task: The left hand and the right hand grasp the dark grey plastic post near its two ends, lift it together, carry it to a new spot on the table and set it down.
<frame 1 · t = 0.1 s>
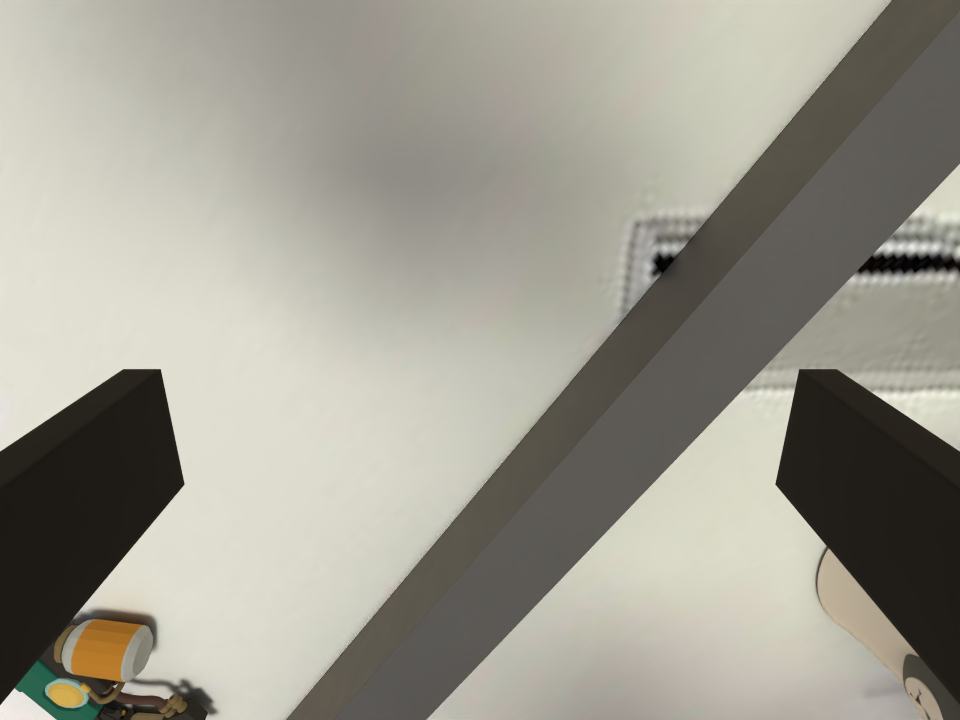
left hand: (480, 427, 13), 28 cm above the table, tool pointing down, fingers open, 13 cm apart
spray gun: (114, 674, 53), on the table
post: (571, 436, 44), on the table
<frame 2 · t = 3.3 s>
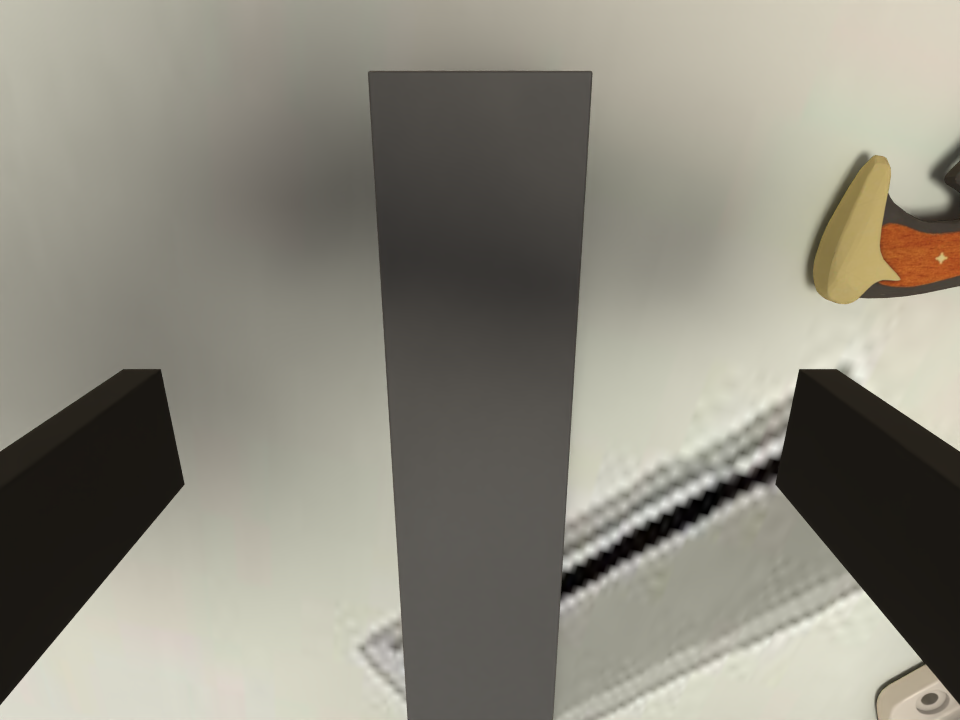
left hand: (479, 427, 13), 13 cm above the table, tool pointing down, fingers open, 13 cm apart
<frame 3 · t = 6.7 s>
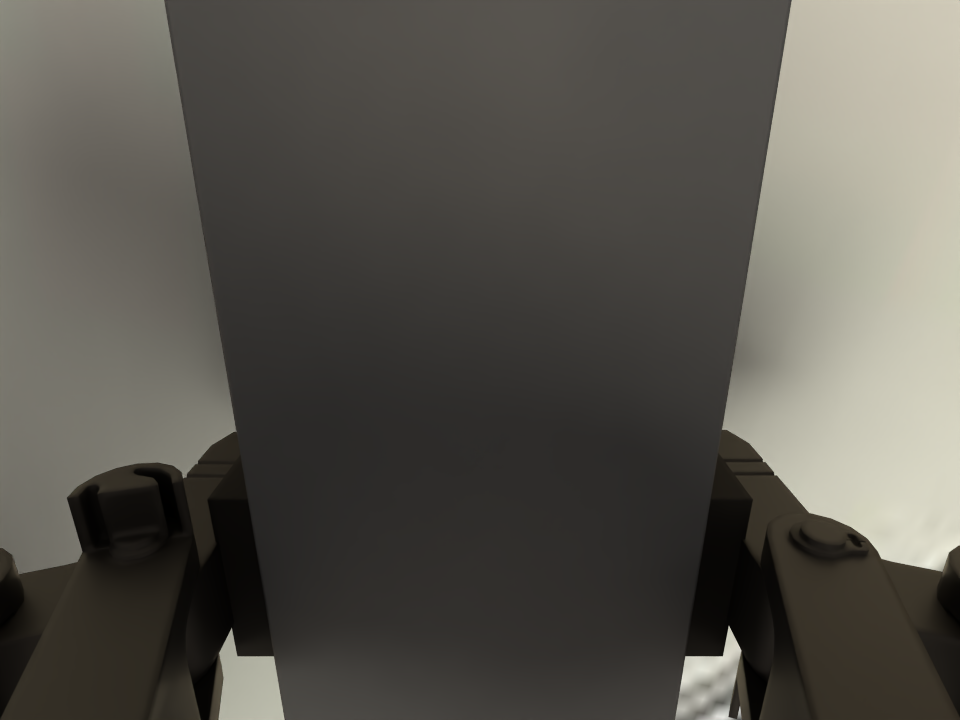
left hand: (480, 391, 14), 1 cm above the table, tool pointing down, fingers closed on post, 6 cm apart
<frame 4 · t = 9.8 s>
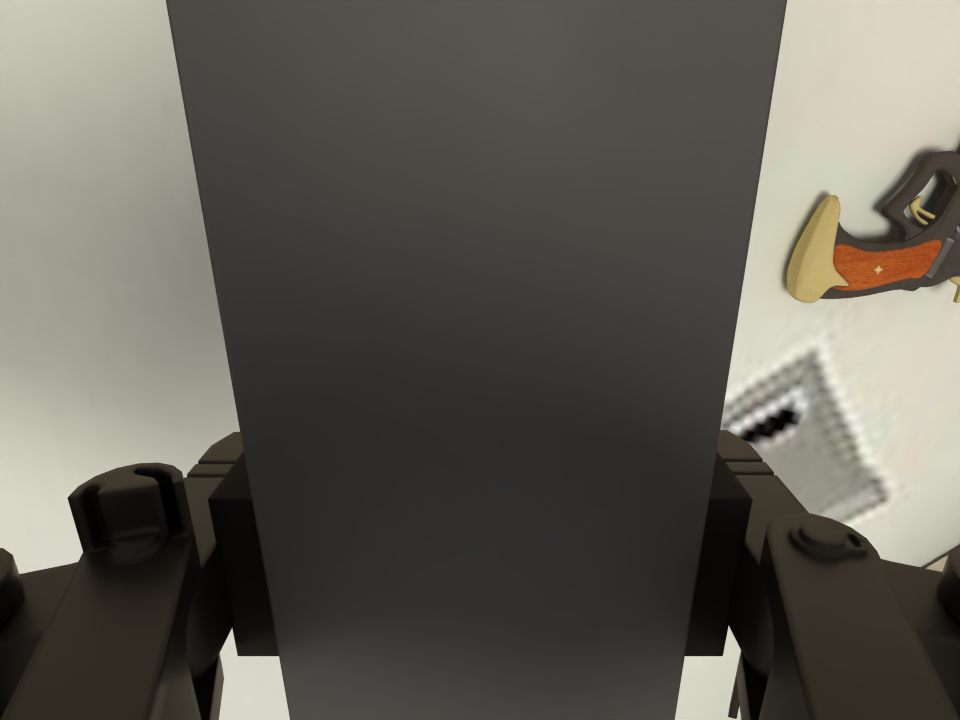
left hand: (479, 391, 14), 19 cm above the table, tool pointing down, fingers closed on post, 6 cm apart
toy gun: (951, 147, 30), on the table
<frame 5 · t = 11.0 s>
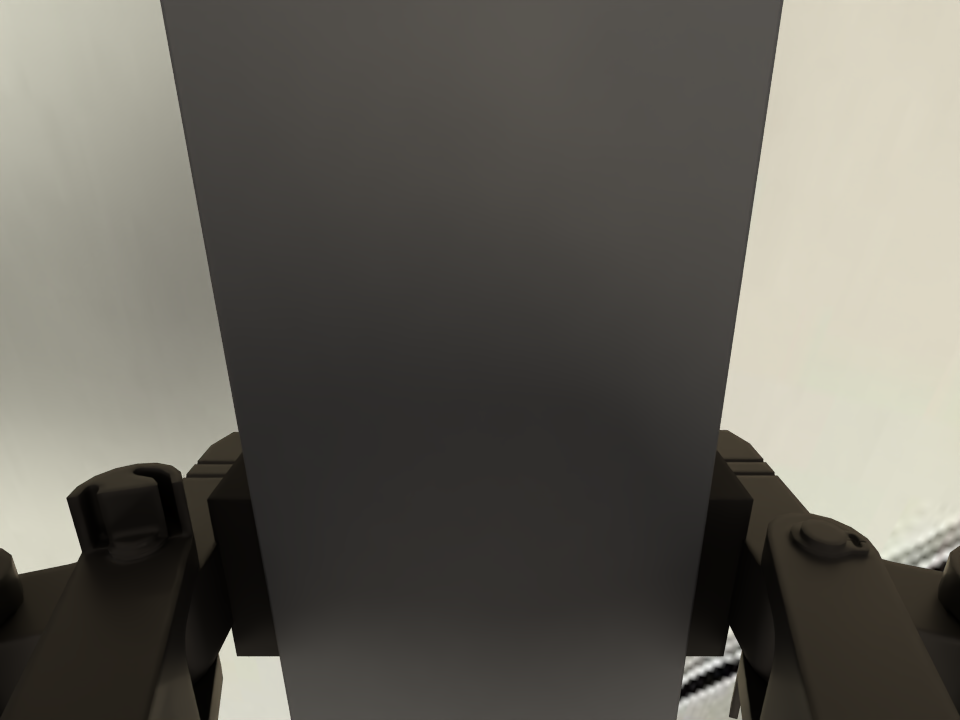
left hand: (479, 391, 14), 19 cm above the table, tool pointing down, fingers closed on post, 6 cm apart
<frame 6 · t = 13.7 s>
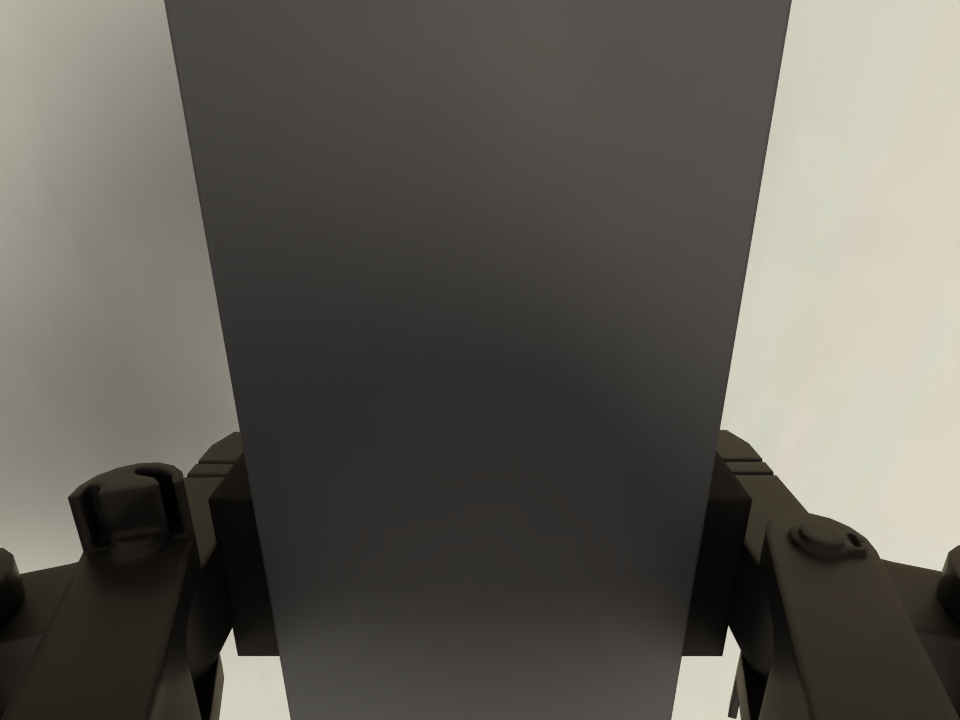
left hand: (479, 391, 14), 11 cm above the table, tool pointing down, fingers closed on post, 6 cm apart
when the left hand's fingers open (2 cm above the table, at t = 15.7 s): post stays where it is, on the table.
when the right hand's fingers open (4 cm above the table, at t = 15.9 s): post stays where it is, on the table.
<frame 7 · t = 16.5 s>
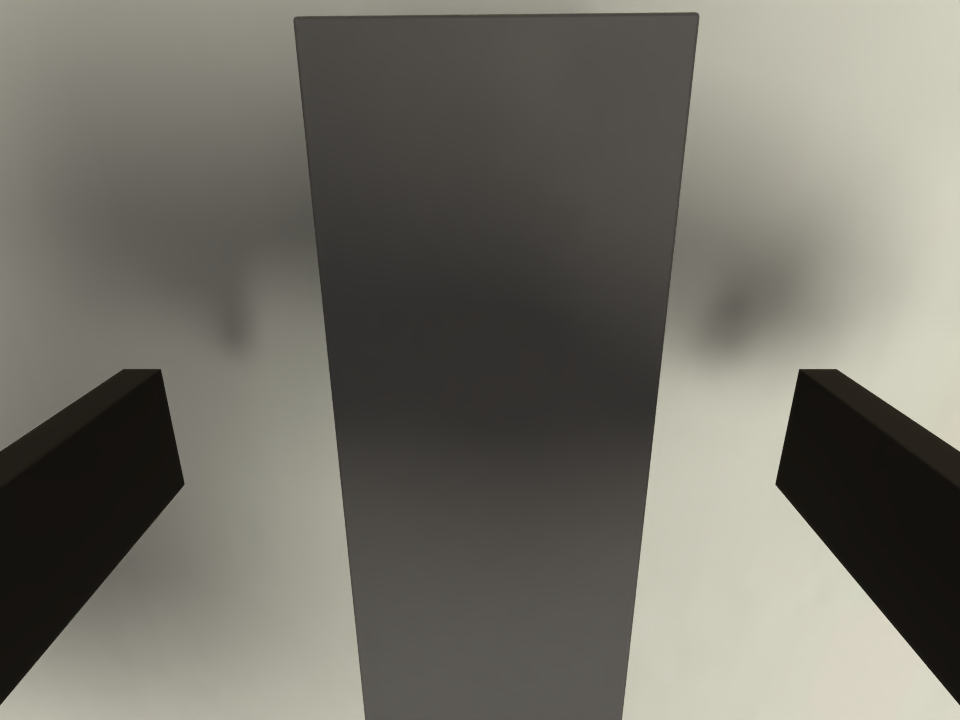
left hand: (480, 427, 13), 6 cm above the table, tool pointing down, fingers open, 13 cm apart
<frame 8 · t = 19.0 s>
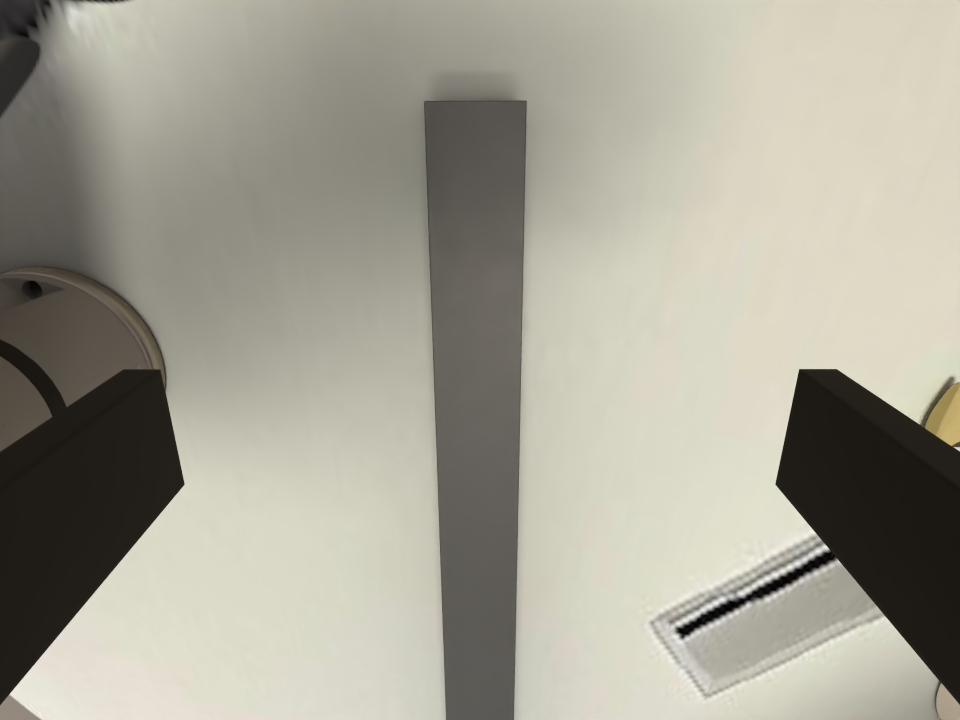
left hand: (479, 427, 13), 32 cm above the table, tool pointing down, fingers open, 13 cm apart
post: (479, 600, 54), on the table
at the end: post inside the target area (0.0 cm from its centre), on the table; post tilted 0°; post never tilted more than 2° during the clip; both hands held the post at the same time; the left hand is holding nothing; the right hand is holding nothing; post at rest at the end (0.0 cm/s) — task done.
